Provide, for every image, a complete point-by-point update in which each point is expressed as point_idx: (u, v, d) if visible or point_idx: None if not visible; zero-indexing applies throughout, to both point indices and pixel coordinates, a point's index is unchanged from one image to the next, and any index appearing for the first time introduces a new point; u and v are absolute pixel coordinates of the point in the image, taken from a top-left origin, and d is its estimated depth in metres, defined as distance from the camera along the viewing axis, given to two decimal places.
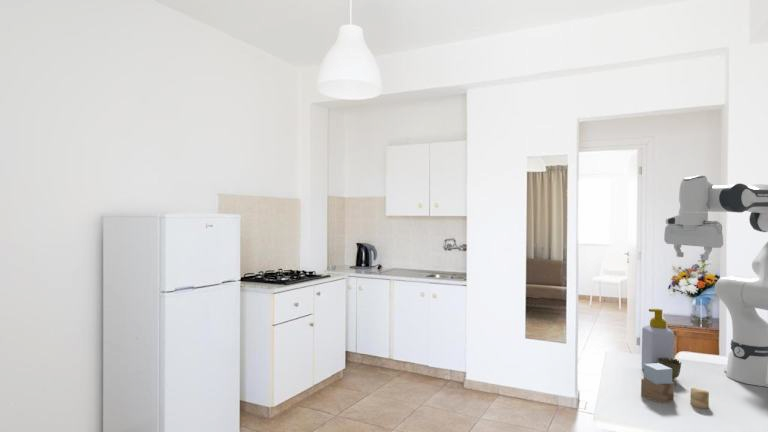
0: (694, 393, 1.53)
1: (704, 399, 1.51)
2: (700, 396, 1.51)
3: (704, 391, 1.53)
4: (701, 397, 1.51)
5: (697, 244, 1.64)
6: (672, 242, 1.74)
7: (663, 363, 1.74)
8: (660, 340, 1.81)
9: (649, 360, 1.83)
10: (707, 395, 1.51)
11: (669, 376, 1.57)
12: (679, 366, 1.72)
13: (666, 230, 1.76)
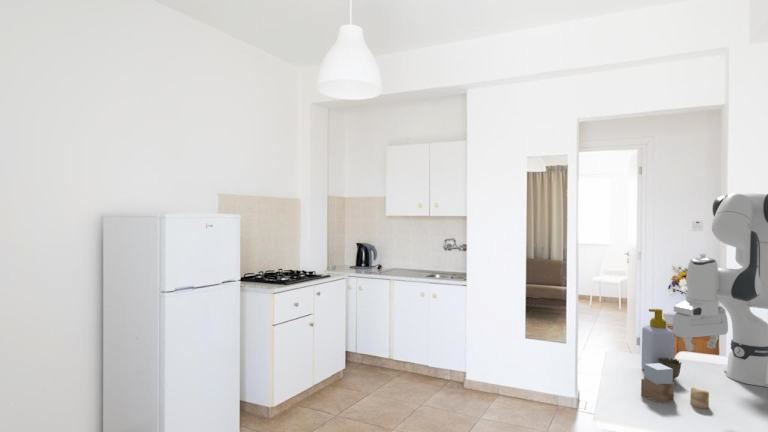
0: (694, 393, 1.53)
1: (704, 399, 1.51)
2: (700, 396, 1.51)
3: (704, 391, 1.53)
4: (701, 397, 1.51)
5: (714, 333, 1.52)
6: (690, 335, 1.50)
7: (663, 363, 1.74)
8: (660, 340, 1.81)
9: (649, 360, 1.83)
10: (707, 395, 1.51)
11: (670, 376, 1.57)
12: (679, 366, 1.72)
13: (687, 322, 1.48)
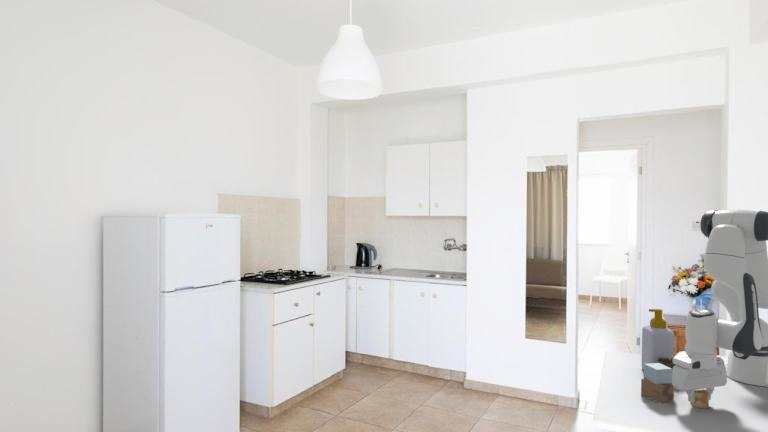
0: (694, 393, 1.53)
1: (704, 398, 1.51)
2: (700, 396, 1.51)
3: (704, 391, 1.53)
4: (701, 397, 1.51)
5: (713, 385, 1.53)
6: (689, 388, 1.50)
7: (663, 363, 1.74)
8: (660, 340, 1.81)
9: (649, 360, 1.83)
10: (707, 395, 1.51)
11: (669, 376, 1.57)
12: None
13: (686, 376, 1.49)
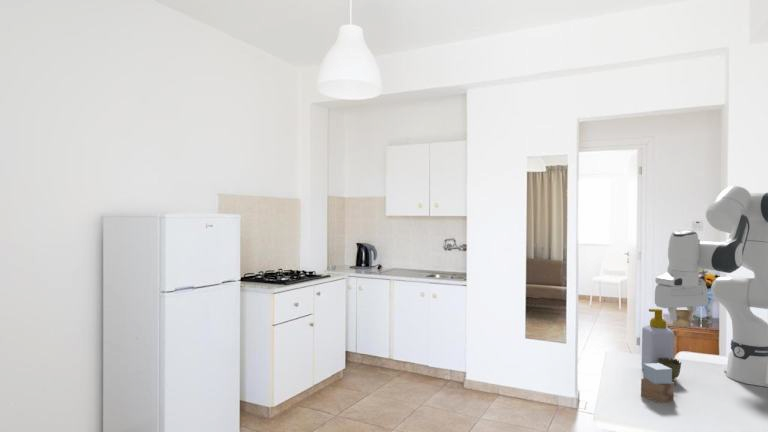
0: (676, 312, 1.55)
1: (686, 316, 1.53)
2: (682, 314, 1.53)
3: (686, 310, 1.55)
4: (683, 315, 1.53)
5: (694, 304, 1.55)
6: (672, 306, 1.52)
7: (663, 363, 1.74)
8: (660, 340, 1.81)
9: (649, 360, 1.83)
10: (689, 313, 1.53)
11: (669, 376, 1.57)
12: (679, 366, 1.72)
13: (668, 293, 1.51)
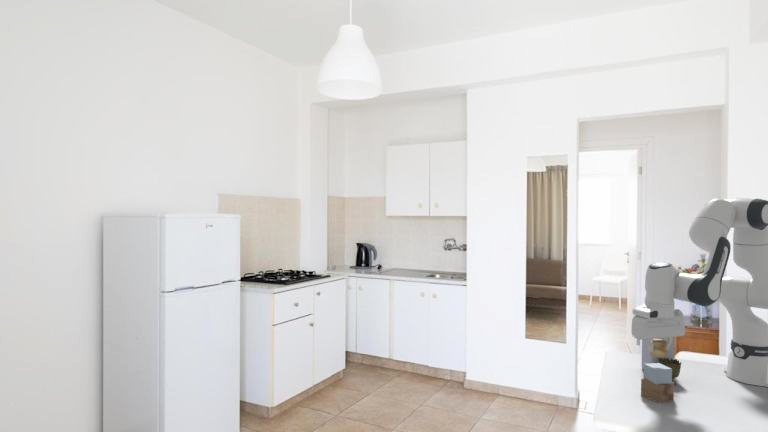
0: (653, 342, 1.59)
1: (662, 347, 1.57)
2: (658, 345, 1.57)
3: (663, 341, 1.59)
4: (660, 346, 1.57)
5: (671, 335, 1.59)
6: (648, 337, 1.56)
7: (663, 363, 1.74)
8: None
9: (649, 360, 1.83)
10: (665, 344, 1.57)
11: (669, 376, 1.57)
12: (679, 366, 1.72)
13: (644, 325, 1.55)
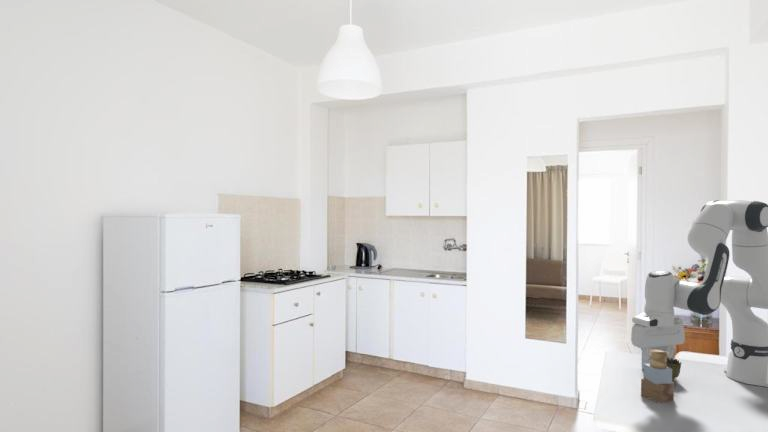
0: (653, 354, 1.58)
1: (662, 359, 1.57)
2: (658, 357, 1.57)
3: (662, 352, 1.59)
4: (659, 358, 1.57)
5: (670, 343, 1.59)
6: (647, 345, 1.56)
7: None
8: None
9: (649, 360, 1.83)
10: (665, 355, 1.57)
11: (669, 376, 1.57)
12: (679, 366, 1.72)
13: (644, 333, 1.55)
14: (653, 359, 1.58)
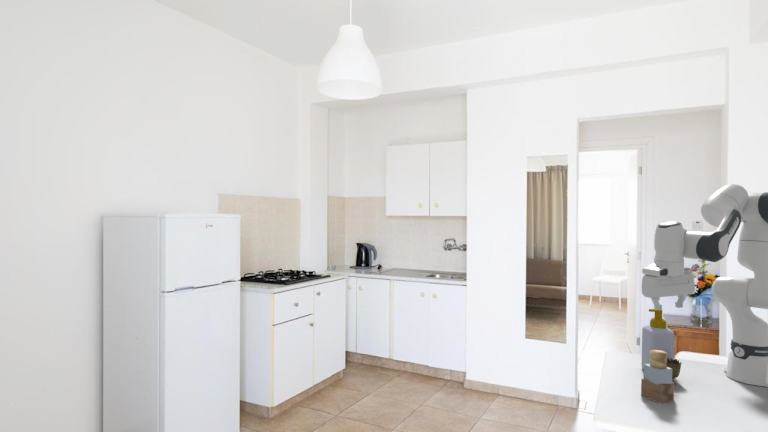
0: (653, 354, 1.58)
1: (663, 359, 1.57)
2: (658, 357, 1.57)
3: (662, 352, 1.59)
4: (660, 358, 1.57)
5: (681, 293, 1.60)
6: (658, 295, 1.57)
7: None
8: (660, 340, 1.81)
9: (649, 360, 1.83)
10: (665, 355, 1.57)
11: (669, 376, 1.57)
12: (679, 366, 1.72)
13: (654, 283, 1.55)
14: (653, 359, 1.58)
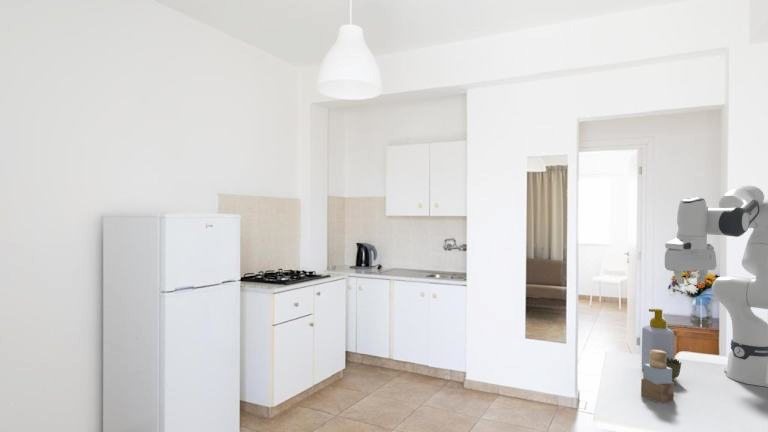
0: (653, 354, 1.58)
1: (663, 359, 1.57)
2: (659, 357, 1.57)
3: (662, 352, 1.59)
4: (660, 358, 1.57)
5: (703, 268, 1.62)
6: (681, 269, 1.60)
7: None
8: (660, 340, 1.81)
9: (649, 360, 1.83)
10: (665, 355, 1.57)
11: (669, 376, 1.57)
12: (679, 366, 1.72)
13: (678, 256, 1.58)
14: (654, 359, 1.58)
